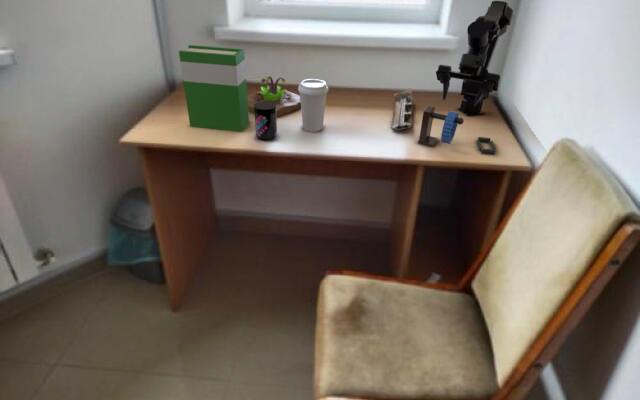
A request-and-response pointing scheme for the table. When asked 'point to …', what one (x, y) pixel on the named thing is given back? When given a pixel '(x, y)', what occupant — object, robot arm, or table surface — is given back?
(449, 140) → the blue ridged ring
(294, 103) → the plant
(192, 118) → the hardback book
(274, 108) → the supplement container
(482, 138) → the tape cradle
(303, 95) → the coffee cup
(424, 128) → the hook stand
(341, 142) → the table surface
